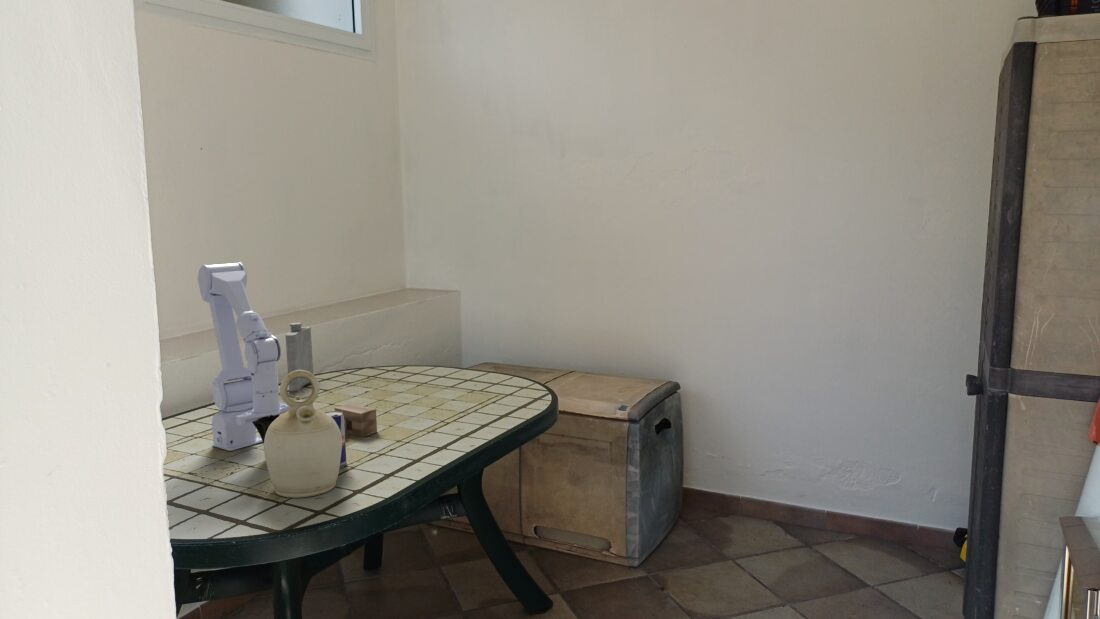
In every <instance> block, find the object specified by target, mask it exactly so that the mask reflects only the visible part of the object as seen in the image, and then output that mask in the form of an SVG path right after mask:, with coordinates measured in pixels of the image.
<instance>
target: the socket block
mask: <svg viewBox="0 0 1100 619" xmlns="http://www.w3.org/2000/svg"><path fill="white" fill-rule="evenodd" d="M334 411H340V412H342V413H343V416H344V421H346V427H347V435H348V434H349V435H350V436H351V435H353V436H355V437H359V438H363V437H367V436H369V435H372V434H376V433H377V432H378V423H377V409H376V408H374V407H373V408H372V407H367V406H364V405H363V406H362V405H359V404H353V403H347V404H344V405H340V406H336V407H334Z"/></svg>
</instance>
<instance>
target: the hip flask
mask: <svg viewBox="0 0 1100 619" xmlns="http://www.w3.org/2000/svg"><path fill="white" fill-rule="evenodd" d="M302 324H303V323H302V322H290V323H289V327H290V331H289V332H286V334H285V337H284V338H285V348H286V351H285V352H286V364H287V365H286V367H287V375H288V374H289V373H290V372H293V371H295V370H306V371H308V372H310V373H312V374H313V375H314V362H313V360H314V359H313V348H312V347H313V346H312V331H311V330H312V328H311V326H302ZM309 383H311V382H310V381H309V380H308V379H306V378H303V377H299V378H296V379H294V380H292V381H291V382H290V383H289V385H288V391H289V392H299V391H300V390H301V389H302V388H303V387H304V386H306V385H307V384H309Z"/></svg>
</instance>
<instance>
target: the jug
mask: <svg viewBox="0 0 1100 619" xmlns="http://www.w3.org/2000/svg"><path fill="white" fill-rule="evenodd" d="M299 377H303V378H306V379H308V380H309V381H310V382H309V383H310V384H311V387H312V389H311V392H310V394H309V395H308V396H307V397H306V398H304V399H303V398H302V397H301V396H300V395H296V396H295V397H294V399H293V398H292V397H290V396H289V393H288V389H289V383H290V382H291V381H292V380H294V379H296V378H299ZM320 387H321V386H320V383H319V380H318V379H317V377H316V376H315V375H314V373H313V374H312V373H310V372H308V371H306V370H295V371H293V372H290V373H289V374H288V373H287V375H285V376H284V378H283V379H282V380H281V383H280V385H279V397H280V398H281V400H282V401H283V402H284V403H286V404H287V405H289V406H290V408H289V411H288V412H286V413H283V414H280V416H279V417H278V418H276V419H275V420H274V421H273V422H272V423H271V424H270V426H269V427H268V430H267V432H266V435H265V439H264V444H263V454H264V460H265V462H266V467H267V470H268V474H269V477H270V481H271V484H272V486H273V489H274V492H275V494H277V495H278V496H280V497H285V498H290V499H303V498H308V497H316V496H319V495H322V494H326V493H328V492H330V491H331V490H333V489H334V488H335V487H336V485H337V481H338V476H339V473H340V469H339V467H340V459H341V451H342V436H341V432H340V429H339V427H338V425H337V424H336V422H335V420H334V419H333V418H332V417H330V416H329V415H327V414H326V413H324V412H325V411H322V410H320V409H317V408H315V407H314V405H313V404H314V402H315V401H316V400H317V399H318V397H319V395H320Z"/></svg>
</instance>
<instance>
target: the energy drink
mask: <svg viewBox="0 0 1100 619" xmlns="http://www.w3.org/2000/svg"><path fill="white" fill-rule="evenodd" d="M323 412H324V413H326V414H327V415H329V416H330V417H332V418H333V419H334V420H335V422H336V424H337V425H338V427H339V429H340V432H341V436H342V451H341V459H340V467H339V470H340V469H343V468H345V467H346V465H347V462H348V461H347V449H346V446H347V445H346V438H345V427H344V416H343V413H342V412H340V411H335V410H329V411H323ZM344 466H345V467H344Z"/></svg>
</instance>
